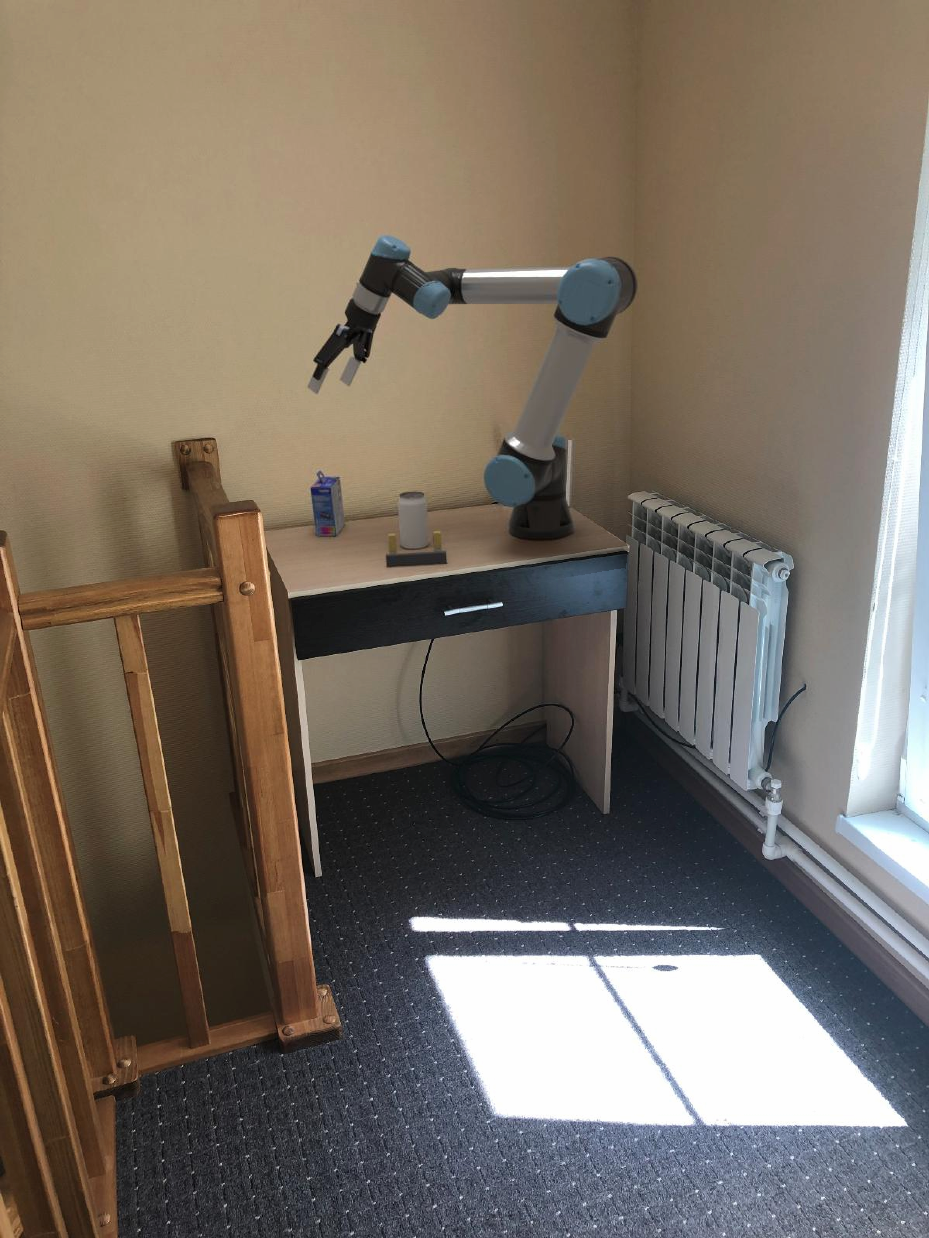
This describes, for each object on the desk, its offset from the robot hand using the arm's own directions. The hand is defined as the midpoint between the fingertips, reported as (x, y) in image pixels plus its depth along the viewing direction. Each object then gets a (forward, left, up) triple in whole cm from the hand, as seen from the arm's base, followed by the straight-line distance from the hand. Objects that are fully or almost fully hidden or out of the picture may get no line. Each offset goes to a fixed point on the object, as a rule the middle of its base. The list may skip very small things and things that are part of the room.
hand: (328, 386), depth 237 cm
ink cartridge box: (+3, +1, -34) cm, 34 cm away
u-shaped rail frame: (-17, +21, -34) cm, 44 cm away
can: (-17, +17, -34) cm, 42 cm away
